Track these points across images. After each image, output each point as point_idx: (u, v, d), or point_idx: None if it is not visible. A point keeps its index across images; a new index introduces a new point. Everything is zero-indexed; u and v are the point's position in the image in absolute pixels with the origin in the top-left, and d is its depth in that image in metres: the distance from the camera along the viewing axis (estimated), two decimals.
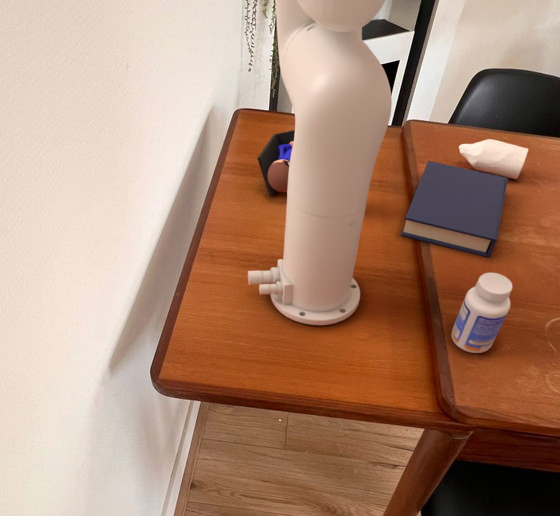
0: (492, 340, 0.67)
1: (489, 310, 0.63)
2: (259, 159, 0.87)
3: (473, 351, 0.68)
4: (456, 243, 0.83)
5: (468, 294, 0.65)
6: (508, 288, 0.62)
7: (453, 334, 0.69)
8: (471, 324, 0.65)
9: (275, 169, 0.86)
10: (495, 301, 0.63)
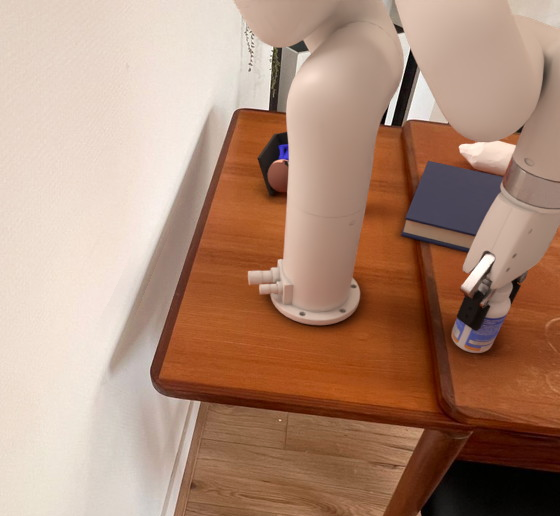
0: (492, 340, 0.67)
1: (489, 310, 0.63)
2: (259, 159, 0.87)
3: (473, 351, 0.68)
4: (456, 243, 0.83)
5: None
6: (508, 287, 0.62)
7: (453, 334, 0.69)
8: None
9: (275, 169, 0.86)
10: (495, 301, 0.63)
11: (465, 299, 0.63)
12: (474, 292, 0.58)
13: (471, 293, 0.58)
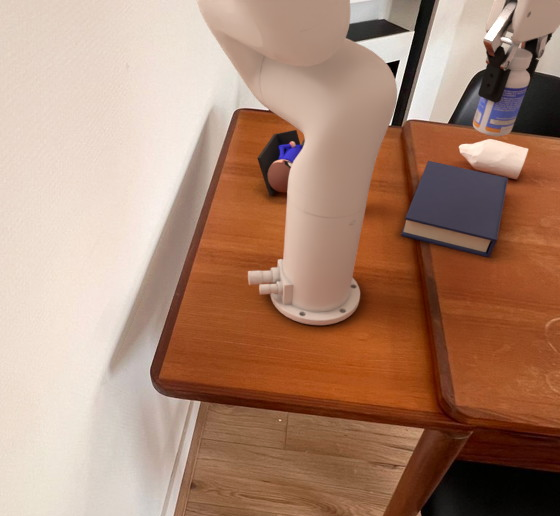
0: (512, 120, 0.72)
1: (510, 78, 0.67)
2: (259, 159, 0.87)
3: (494, 133, 0.72)
4: (456, 243, 0.83)
5: None
6: (528, 55, 0.67)
7: (475, 121, 0.74)
8: None
9: (275, 169, 0.86)
10: (516, 69, 0.67)
11: (487, 69, 0.68)
12: (497, 44, 0.63)
13: (494, 43, 0.62)
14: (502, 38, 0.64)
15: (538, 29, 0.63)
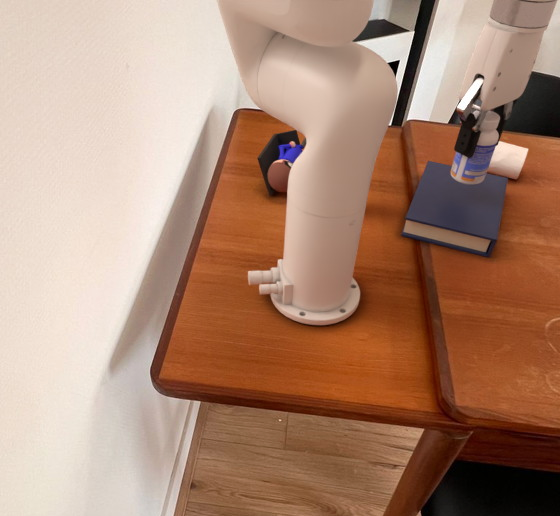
0: (484, 171, 0.82)
1: (481, 137, 0.78)
2: (259, 159, 0.87)
3: (468, 182, 0.83)
4: (456, 243, 0.83)
5: None
6: (496, 118, 0.77)
7: (452, 170, 0.84)
8: None
9: (275, 169, 0.86)
10: (486, 129, 0.77)
11: (461, 130, 0.78)
12: (468, 112, 0.73)
13: (465, 112, 0.72)
14: (473, 105, 0.75)
15: (503, 98, 0.74)
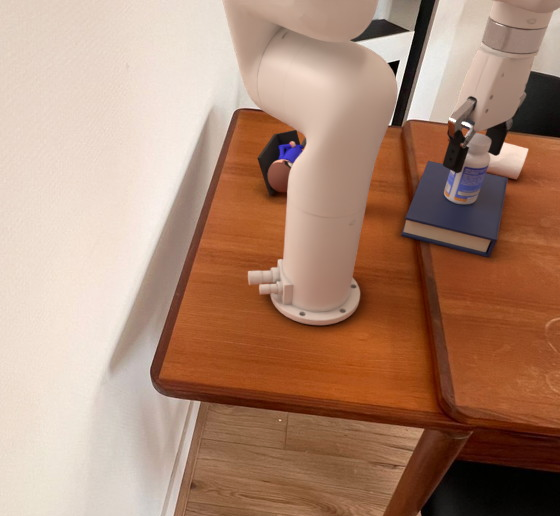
0: (476, 192, 0.84)
1: (473, 160, 0.80)
2: (259, 159, 0.87)
3: (461, 202, 0.85)
4: (456, 243, 0.83)
5: None
6: (488, 141, 0.79)
7: (445, 191, 0.86)
8: (459, 176, 0.83)
9: (275, 169, 0.86)
10: (478, 153, 0.80)
11: (449, 145, 0.79)
12: (458, 126, 0.73)
13: (456, 124, 0.73)
14: (464, 122, 0.76)
15: (496, 120, 0.76)
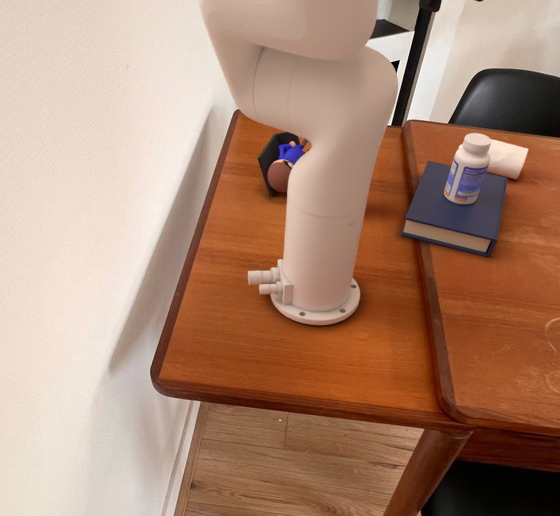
0: (476, 192, 0.84)
1: (473, 160, 0.80)
2: (259, 159, 0.87)
3: (461, 202, 0.85)
4: (456, 243, 0.83)
5: (457, 151, 0.82)
6: (488, 141, 0.79)
7: (445, 191, 0.86)
8: (459, 176, 0.83)
9: (275, 169, 0.86)
10: (478, 153, 0.80)
11: None
12: None
13: None
14: None
15: None
